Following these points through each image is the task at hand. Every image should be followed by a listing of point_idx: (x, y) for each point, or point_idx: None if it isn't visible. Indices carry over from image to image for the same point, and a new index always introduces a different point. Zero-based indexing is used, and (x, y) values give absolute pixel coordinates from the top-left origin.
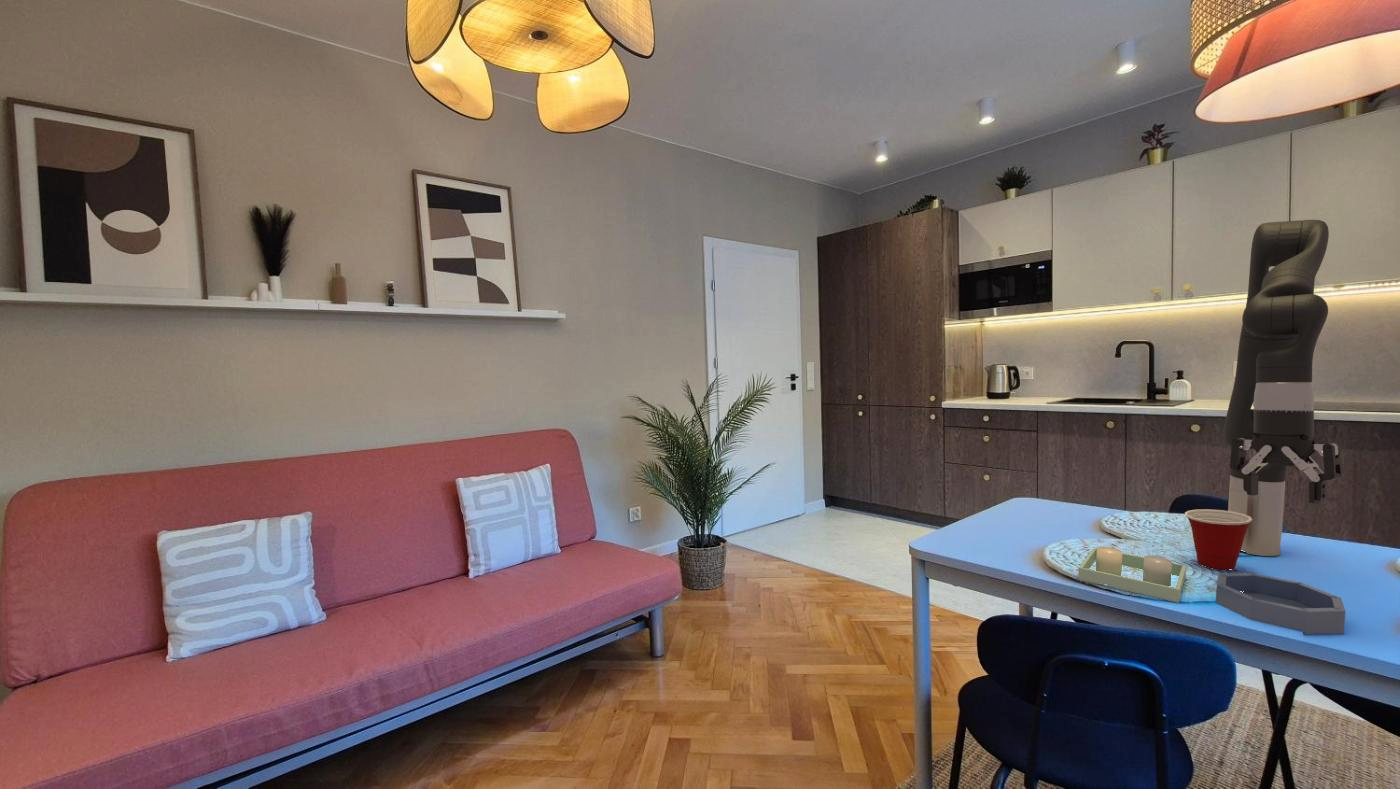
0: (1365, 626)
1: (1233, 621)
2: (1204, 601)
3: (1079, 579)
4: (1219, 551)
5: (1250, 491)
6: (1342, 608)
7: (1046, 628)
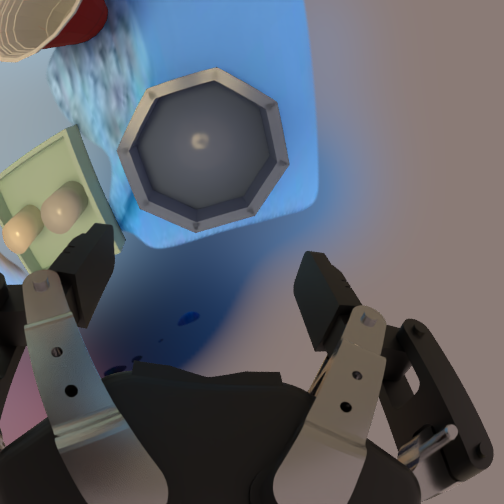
0: (293, 98)
1: (183, 232)
2: (132, 193)
3: None
4: (77, 37)
5: (108, 278)
6: (285, 156)
7: (124, 368)
